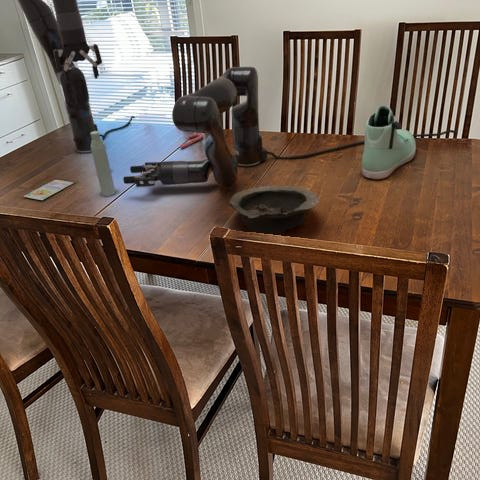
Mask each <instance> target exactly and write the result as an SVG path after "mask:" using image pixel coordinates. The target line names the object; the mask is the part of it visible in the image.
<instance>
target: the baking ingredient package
mask: <svg viewBox="0 0 480 480" xmlns="http://www.w3.org/2000/svg"><path fill="white" fill-rule="evenodd" d="M73 184H74V182H73V181H67V180H61V179H54V180H51V181H50V182H47V183H46V184H44V185H42V186H40V187H38V188H36V189H34V190H32V191H31V192H28V193H27V194H25V195H23V198H28V199H34V200H39V201H44V200H45V199H47V198H49V197H51V196H52V195H55V194H57V193H58V192H60V191H61V190H64V189H65V188H67V187H69V186H71V185H73Z"/></svg>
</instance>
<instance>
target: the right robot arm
mask: <svg viewBox="0 0 480 480" xmlns="http://www.w3.org/2000/svg"><path fill="white" fill-rule="evenodd" d="M238 97H246V100H244V101H243V102H241V103H238V104H236V105H234V104H235V103H236V102H237V99H238ZM230 108H231V122H232V134H233V135H232V136H233V147H234V149H233V153H234V155H233V154H232V153H231V151H230V148H229V146H228V145H227V142H226V138H225V133H224V127H223V124H222V118H221V114H223V113H225V112H227V111H228V110H229V109H230ZM171 120H172V123H173V125H174V126H175V128H176V129H177V130H179V131H180V132H184V133H191V134H196V133H199V134H208V136H207V138H206V139H205V141H204V144H203V152H204V155H205V157H206V159H203V160H168V161H166V160H165V161H151V162H150V161H149V162H148V161H147V162H144V164H141V165H131V166H130V167H129V170H130V173H131V174H138V175H136V176H135V175H131V176H129V175H128V176H124V177H122V179H123V183H124V184H126V185H128V184H135V186H136V188H141V187H154V186H156V182H160V183H161V185H163V186H172V185H173V186H175V185H187V184H203V183H206V182H208V181H209V177H210V174H211V172H212V174H213V178H214V181H215V182H216V184H217V185H219V186H220V187H222V188H226V189H227V188H232V187H234V186H235V185H236V184H237V182H238V179H239V178H238V176H239V174H238V173H239V172H238V171H239V167H246V168H248V167H249V168H250V167H255V166H258V165H259V164H260V163H264V160H267V159H268V155H270V156H272V157H273V158H275V159H277V160H294V159H295V160H296V159H302V158H303V159H304V158H308V157H312V156H316V155H321V154H325V153H329V152H333V151H337V150H341V149H345V148H350V147H353V146H359V145H364V144H365V140H361V141H356V142H352V143H349V144H348V143H347V144H344V145H340V146H336V147H331V148H327V149H324V150H320V151H316V152H311V153H307V154H306V153H305V154H301V155H292V156H280V155H279V156H278V155H277V154H275V153H274V152H272V151H268V149H266V148H264V147H263V138H262V136H261V134H260V121H259V120H260V119H259V75H258V70H257V69H256V68H255V67H254V66H232V67H229V68H227V69H226V70H225V71H224V72H223V73H222V75H221V76H219V77H218V78H216V79H214V80H212V81H210V82H209V83H207V84H206V85H205V86H203V87H201V88H199V89H198V90H195V92H191V93H188V94H185V95H183V96H180V97H179V98H178V99H177V100H176V102H175V103H174V105H173V108H172V113H171ZM448 133H449V134H450V133H452V134H454V135H458V132H457V131H456V130H453V129H448V130H445V131H442V132H439V133H421V134H420V133H418V134H417V133H416V134H412V135H413V137H414V138H420V137H421V138H422V137H425V138H427V137H439V136H443V135H445V134H448Z"/></svg>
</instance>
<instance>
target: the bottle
mask: <svg viewBox="0 0 480 480" xmlns="http://www.w3.org/2000/svg"><path fill="white" fill-rule="evenodd" d="M90 134H91V138H92V142H91V151H92V152H91V155H92V158H93V159H92V160H93V163H94V167H95V171H96V175H97V180H98V184H99V188H100V192H101V195H102V196H103V197H110V196H113V195H115V194H116V188H115V187H116V186H115V183H114V179H113V174H112V170H111V166H110V161H109V157H108V152H107V147H106V144H105V143H104V141H103V140H102V139H101V136H100V131H99V130H98V131H93V132H91V133H90Z"/></svg>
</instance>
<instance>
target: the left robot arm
mask: <svg viewBox="0 0 480 480" xmlns="http://www.w3.org/2000/svg"><path fill="white" fill-rule="evenodd" d="M17 2H18V4H19V6H20V8H21V10H22V12H23V14H24V17H25V19H26V20H27V22H28V25H29V26H30V28H31V30H32V32H33V34H34V36H35V37H36V39H37V41H38V43H39V45H40V46H41V48H42V49H43V51H44V53H45V54H46V56H47V58H48V60H49V62H50V65H51V67H52V69H53V73H54V75H55V78H56V80H57V82H58V84H59V85H60V86H61V90H62V93H63V97H64V98H63V99H64V106H65V110H66V114H67V115H66V116H67V118H68V122H69V126H70V130H71V133H72V137H73V138H72V140H73V143H74V145H75V148H76V149H75V150H76V152H77V153H80V154H87V153H92V151H91V142H92V138H91V134H90V133H91V132H93V131H99V129H98V125H97V123H95V121H94V116H93V113H92V108H91V104H90V95H89V89H88V84H87V79H86V77H85V74H84V72H83V71H82V70H81V69H80V68H79V67H77V66H76V64H75V63H78V62H84V61H85V60H86V61H87V62H89V63H90V64H91V65H92V66H91V69H92V73H93V77H94V79H95V80H96V79H98V78H99V76H100V74H99V69H98V66H100V65H102V64H103V60H102V55H101V52H100V49H99V45H98V44H96V43H93V44H91V45H89V44H88V42H87V37H86V32H85V28H84V24H83V19H82V16H81V12H80V9H79V5H78V1H77V0H52V5H53V9H54V12H55V15H54V12H53V10H52V8H51V6H49V4H47V3H46V2H45V1H44V0H17ZM90 51H91V52H93V53H94V55H95V58H96V59H95V60H93V58H92V57H90V55H89V53H90ZM133 119H136V117H135V116H134V115H132V116H130V119H129V121H128V122H127V123H125V124H123V125H122V126H118V127H115V128H111V129H109V130H106V131H105V132H104V134H100V133H99V135H100V137H101V138H102V139H105V138H106V137H107V134H109V133H111V132H114V131H118V130H121V129H124V128H126V127H128V126H129V124H131V122H132V120H133Z"/></svg>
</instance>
